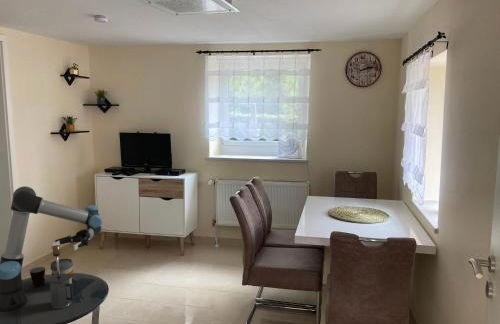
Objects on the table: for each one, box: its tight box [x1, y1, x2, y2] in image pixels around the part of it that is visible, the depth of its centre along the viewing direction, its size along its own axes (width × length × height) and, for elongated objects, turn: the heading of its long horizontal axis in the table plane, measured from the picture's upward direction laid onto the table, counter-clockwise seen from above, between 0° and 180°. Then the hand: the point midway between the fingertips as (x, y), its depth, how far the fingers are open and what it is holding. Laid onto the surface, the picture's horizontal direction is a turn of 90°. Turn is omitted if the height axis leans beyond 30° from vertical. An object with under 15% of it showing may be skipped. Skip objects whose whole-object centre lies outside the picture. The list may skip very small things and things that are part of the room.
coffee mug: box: [29, 266, 46, 288], centre depth 258 cm, size 12×9×10 cm
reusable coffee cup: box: [50, 258, 74, 284], centre depth 255 cm, size 12×13×15 cm
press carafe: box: [44, 273, 75, 310], centre depth 230 cm, size 13×10×16 cm
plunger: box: [51, 245, 61, 278], centre depth 228 cm, size 7×7×22 cm
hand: (62, 247), depth 231 cm, fingers open, 13 cm apart
